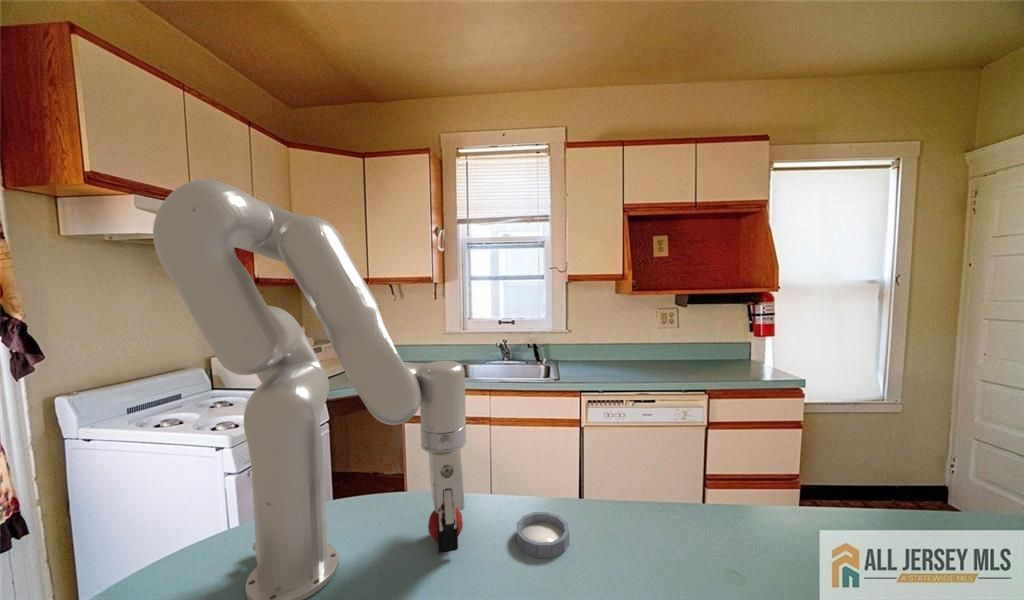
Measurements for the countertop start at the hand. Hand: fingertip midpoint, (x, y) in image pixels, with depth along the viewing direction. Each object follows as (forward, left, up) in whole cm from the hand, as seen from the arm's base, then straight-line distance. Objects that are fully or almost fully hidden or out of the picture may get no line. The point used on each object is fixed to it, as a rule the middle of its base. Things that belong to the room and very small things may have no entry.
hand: (445, 536), depth 68 cm
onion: (0, 0, -2) cm, 2 cm away
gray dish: (+14, +9, -1) cm, 17 cm away
